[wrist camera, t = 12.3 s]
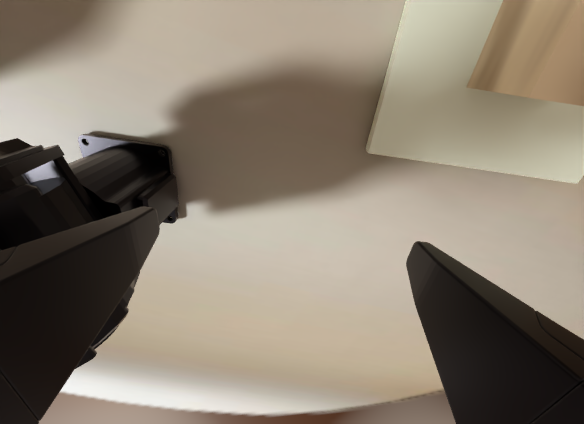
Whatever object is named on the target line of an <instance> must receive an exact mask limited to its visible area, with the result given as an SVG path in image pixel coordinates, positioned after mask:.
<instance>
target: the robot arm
mask: <svg viewBox="0 0 584 424" xmlns="http://www.w3.org/2000/svg"><path fill="white" fill-rule="evenodd" d="M86 140H87V141H88V142H89V144H88V143H87V142H86ZM78 142H79V146H80V149H81V153H82V156H83V158H81V159H79V160H76V161H74V162H71V163H69V164H68V163H67V162H66V160H65V159H64V157H63V155H64V153H63V152H62V150H61V149H60V147H59V145H55V146H51V147H47V148H43V146H42V145H39V146H31V145H29V144H27V143H25V142H24V141H22V140H20V139H18V138H17V139H13V140H8V141H4V142H1V143H0V424H38V423H39V421H40V420H41V419H42V417H43V416H44V414H45V413H46V411H47V410H48V408H49V407H50V405H51V404H52V402H53V401H54V399H55V398H56V396H57V395H58V393H59V392H60V390H61V389H62V387H63V386H64V384H65V383H66V381H67V380H68V378H69V377H70V375H71V374H72V372H73V371H74V369H76V368H78V367H79V366H81V365H83V364H85V363H86V362H88V361H90V360H91V359H93V358H94V357H95V356H96V354H97V352H96V351H95V350H94V349H96V348H97V347H98V346H99V345H101V344H102V343H103V342H104V341H105V340H107V339H108V337H109V336H110V335H111V334H112V333H113V332H114V331H115V330H116V328H117V327H118V326H119V324H120V323H121V322H122V321H123V320H124V318H125V317H126V315H127V313H128V308H127V306H128V303H129V300H130V298H131V296H132V294H133V292H134V287H135V284H136V282H137V279H138V276H139V274H140V270H141V268H142V266H143V264H144V262H145V260H146V258H147V256H148V254H149V252H150V250H151V249H152V247H153V245H154V243H155V241H156V239H157V237H158V235H159V230H160V228H159V225H160V224H161V223H162V222H164V223H175V221H176V220H177V219H178V212H177V206H178V205H179V202H178V193H177V183H176V177H175V175H174V174H173V166H172V157H171V151H170V149H169V148H168V147H167V146H165V145H161V144H154V143H147V142H140V141H133V140H126V139H120V138H113V137H106V136H99V135H92V134H83V135H81V136H79V138H78ZM161 150H163V151H164V152H165V155H163V154H162V153H161ZM169 216H171V217H172V218H170V217H169ZM406 266H407V271H408V275H409V280H410V284H411V289H412V293H413V298H414V302H415V305H416V308H417V312H418V315H419V317H420V320H421V323H422V326H423V329H424V332H425V335H426V338H427V341H428V344H429V346H430V349H431V352H432V355H433V358H434V361H435V364H436V367H437V370H438V373H439V375H440V378H441V381H442V384H443V387H444V390H445V393H446V396H447V399H448V402H449V404H450V407H451V410H452V413H453V416H454V419H455V422H456V424H584V339H582V338H580V337H578V336H577V335H575V334H573V333H572V332H570V331H569V330H567V329H565V328H564V327H562V326H560V325H559V324H557V323H556V322H554V321H552V320H551V319H549V318H548V317H546V316H544V315H543V314H541V313H540V312H538V311H535V310H534V309H533V308H532V307H530V306H528V305H527V304H525V303H524V302H522V301H520V300H519V299H517V298H516V297H514V296H512V295H511V294H509V293H508V292H506V291H505V290H503V289H501V288H500V287H498V286H497V285H495V284H493V283H492V282H490V281H489V280H487V279H485V278H484V277H482V276H481V275H479V274H478V273H476V272H474V271H473V270H471V269H470V268H468V267H466V266H465V265H463V264H462V263H460V262H458V261H457V260H455V259H454V258H452V257H451V256H449V255H447V254H446V253H444V252H443V251H441V250H439V249H438V248H436V247H435V246H433V245H432V244H430V243H427V242H420V241H417V242H415V243H414V245H413V247H412V249H411V251H410V254H409V256H408V258H407V262H406Z"/></svg>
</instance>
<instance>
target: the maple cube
mask: <svg viewBox="0 0 584 424" xmlns="http://www.w3.org/2000/svg"><path fill="white" fill-rule="evenodd" d="M466 88H472V89H478V90H484V91H491V92H497V93H503V94H509V95H515V96H521V97H527V98H533V99H540V100H546V101H553V102H559V103H566V104H573V105H579V106H584V0H503V2H502V4H501V7H500V9H499V11H498V14H497V16H496V18H495V21H494V23H493V26H492V28H491V30H490V33H489V35H488V37H487V40H486V42H485V44H484V47H483V49H482V52H481V54H480V56H479V59H478V61H477V63H476V66H475V68H474V70H473V73H472V75H471V78H470V80H469V82H468V85H467V87H466Z"/></svg>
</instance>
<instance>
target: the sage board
mask: <svg viewBox="0 0 584 424" xmlns="http://www.w3.org/2000/svg"><path fill="white" fill-rule="evenodd" d="M502 2H503V0H406V2H405V6H404V10H403V13H402V17H401V21H400V24H399V28H398V32H397V35H396V39H395V43H394V46H393V50H392V54H391V57H390V61H389V65H388V68H387V72H386V76H385V79H384V83H383V87H382V90H381V94H380V98H379V101H378V105H377V109H376V112H375V116H374V120H373V123H372V127H371V131H370V134H369V138H368V142H367V145H366V151H367V152H368V153H369V154H376V155H383V156H390V157H397V158H404V159H411V160H417V161H424V162H431V163H438V164H445V165H452V166H458V167H465V168H472V169H479V170H486V171H493V172H500V173H506V174H513V175H520V176H527V177H534V178H541V179H547V180H554V181H561V182H568V183H575V184H577V183H578V182H579V181H580V179H581V178H582V177H583V175H584V106H579V105H573V104H566V103H559V102H553V101H546V100H540V99H533V98H527V97H521V96H515V95H509V94H503V93H497V92H491V91H484V90H478V89H472V88H466V87H467V85H468V82H469V80H470V78H471V75H472V73H473V70H474V68H475V66H476V63H477V61H478V59H479V56H480V54H481V52H482V49H483V47H484V44H485V42H486V40H487V37H488V35H489V33H490V30H491V28H492V26H493V23H494V21H495V18H496V16H497V14H498V11H499V9H500V7H501V4H502Z"/></svg>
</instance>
